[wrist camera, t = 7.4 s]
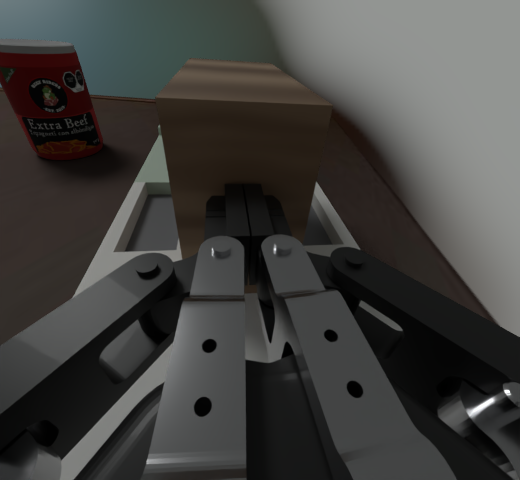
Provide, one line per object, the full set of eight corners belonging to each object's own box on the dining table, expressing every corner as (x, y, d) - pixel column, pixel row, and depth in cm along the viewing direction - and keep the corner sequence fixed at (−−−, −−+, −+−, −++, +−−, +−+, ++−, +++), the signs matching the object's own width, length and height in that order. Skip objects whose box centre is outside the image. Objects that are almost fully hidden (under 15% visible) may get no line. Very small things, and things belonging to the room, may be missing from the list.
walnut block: (292, 290, 15) (332, 105, 9) (188, 296, 15) (155, 97, 8) (261, 182, 26) (270, 63, 20) (200, 182, 25) (190, 57, 19)
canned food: (34, 165, 29) (-27, 43, 22) (35, 142, 34) (-14, 37, 27) (109, 155, 33) (76, 47, 26) (100, 136, 38) (71, 41, 31)
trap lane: (526, 560, 9) (589, 559, 7) (-103, 712, 6) (-214, 760, 5) (285, 146, 40) (287, 129, 38) (162, 143, 37) (159, 125, 35)
